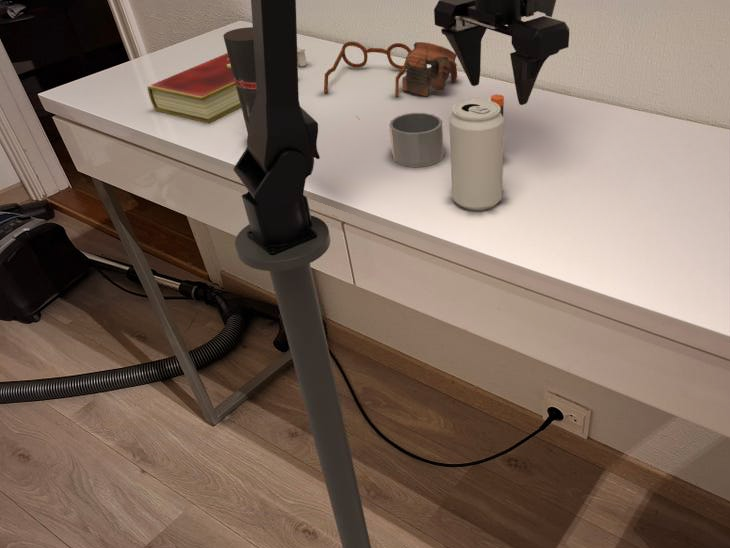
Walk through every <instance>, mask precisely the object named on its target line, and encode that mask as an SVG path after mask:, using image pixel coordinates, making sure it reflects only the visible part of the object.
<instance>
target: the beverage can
mask: <svg viewBox="0 0 730 548" xmlns="http://www.w3.org/2000/svg"><path fill="white" fill-rule="evenodd" d="M500 110H501V108H500V106H499V105H498V104H497V103H495V102H492V101H491V100H488V99H481V98H479V99H477V98H476V99H466V100H461V101H459V102H456V103H455V104H454V105H452V107H451V114H450V116H449V119H448V122H449V123H448V124H449V125H448V126H449V147H450V148H449V149H450V150H449V151H450V172H451V173H450V176H451V196H452V197H451V198H452V200H453V201H454V202H455V203H456V204H457V205H459V206H460V207H462V208H464V209H466V210H470V211H485V210H489V209H492V208H493V207H495V206H496V205H497V204H498V203H499V202H500V201H502V199H503V184H504V183H503V181H504V180H503V178H504V177H503V176H504V172H503V171H504V120H505V119H504V115H503V116H502V114H501V113H500Z"/></svg>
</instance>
